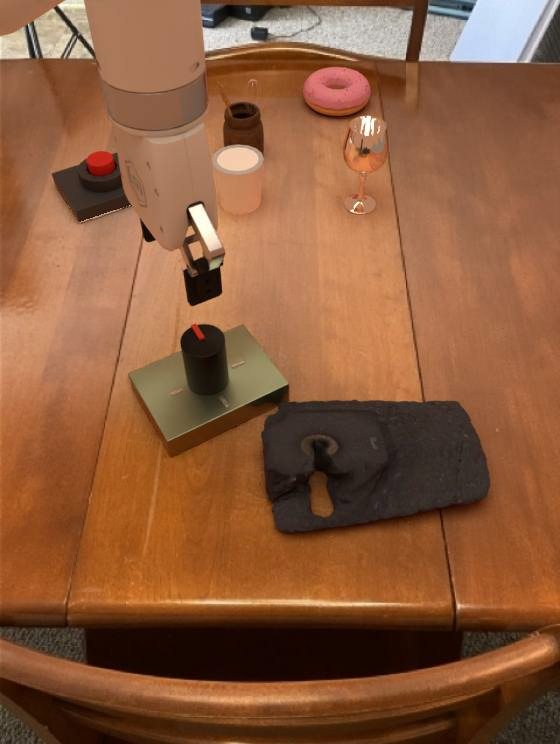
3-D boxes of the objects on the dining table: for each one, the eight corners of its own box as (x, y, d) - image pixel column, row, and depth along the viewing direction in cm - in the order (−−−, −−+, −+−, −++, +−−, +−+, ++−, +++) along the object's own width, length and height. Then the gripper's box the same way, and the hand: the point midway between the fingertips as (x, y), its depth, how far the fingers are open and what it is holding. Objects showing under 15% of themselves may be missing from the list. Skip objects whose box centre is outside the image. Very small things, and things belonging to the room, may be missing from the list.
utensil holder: (271, 156, 102) (270, 79, 92) (236, 170, 100) (231, 93, 90) (250, 138, 105) (247, 61, 96) (215, 151, 103) (208, 74, 93)
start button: (94, 180, 92) (91, 169, 91) (85, 166, 94) (82, 155, 93) (119, 172, 93) (117, 161, 92) (109, 159, 95) (107, 148, 94)
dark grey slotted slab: (498, 530, 64) (511, 506, 60) (263, 538, 63) (262, 514, 59) (465, 399, 73) (474, 371, 69) (261, 405, 73) (259, 377, 69)
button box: (79, 224, 92) (72, 200, 89) (55, 186, 97) (47, 162, 94) (160, 196, 96) (156, 172, 93) (132, 161, 101) (128, 136, 98)
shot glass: (226, 222, 92) (222, 179, 87) (208, 194, 96) (204, 151, 91) (272, 209, 94) (272, 166, 88) (253, 182, 98) (251, 139, 92)
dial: (236, 384, 71) (232, 344, 66) (197, 401, 69) (190, 361, 65) (217, 356, 73) (212, 315, 68) (180, 371, 72) (172, 331, 67)
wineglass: (374, 189, 96) (384, 111, 87) (385, 214, 93) (396, 136, 84) (335, 193, 96) (340, 115, 87) (344, 219, 92) (350, 140, 83)
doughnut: (362, 125, 107) (364, 100, 104) (294, 114, 109) (295, 90, 106) (375, 90, 114) (378, 66, 110) (311, 81, 116) (312, 57, 112)
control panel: (171, 457, 69) (166, 440, 66) (132, 390, 74) (127, 372, 72) (289, 400, 73) (289, 382, 71) (244, 341, 79) (243, 322, 76)
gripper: (67, 53, 53) (109, 227, 66) (156, 167, 44) (184, 342, 57) (155, 31, 55) (179, 203, 69) (258, 134, 46) (262, 310, 59)
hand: (181, 266), depth 63 cm, fingers open, 9 cm apart
